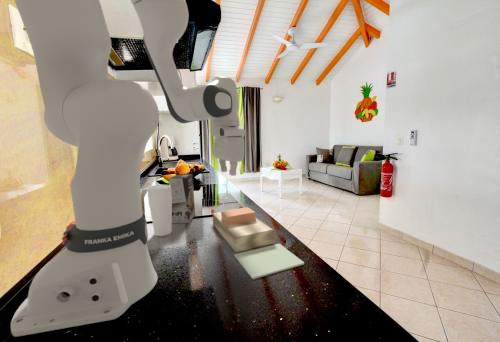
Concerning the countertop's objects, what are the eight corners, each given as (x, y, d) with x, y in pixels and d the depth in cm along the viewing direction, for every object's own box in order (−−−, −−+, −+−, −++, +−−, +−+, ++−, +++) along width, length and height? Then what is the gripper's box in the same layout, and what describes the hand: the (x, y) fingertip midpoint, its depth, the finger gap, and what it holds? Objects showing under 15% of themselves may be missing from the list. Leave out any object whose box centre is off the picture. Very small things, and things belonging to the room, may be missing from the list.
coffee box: (189, 223, 83) (186, 177, 80) (171, 223, 83) (167, 178, 80) (195, 214, 92) (193, 173, 89) (179, 215, 92) (176, 174, 89)
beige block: (235, 252, 60) (235, 237, 60) (213, 224, 80) (212, 213, 80) (273, 243, 65) (273, 229, 64) (243, 219, 85) (242, 208, 84)
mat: (252, 279, 49) (252, 277, 49) (234, 255, 59) (234, 254, 59) (304, 264, 54) (304, 262, 54) (279, 244, 64) (279, 243, 64)
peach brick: (227, 225, 68) (227, 217, 68) (221, 219, 74) (221, 211, 73) (255, 220, 72) (255, 212, 72) (247, 214, 77) (247, 207, 77)
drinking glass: (148, 233, 74) (144, 186, 72) (169, 227, 79) (166, 183, 77) (156, 240, 69) (151, 190, 67) (178, 233, 74) (174, 186, 71)
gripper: (208, 132, 84) (210, 170, 86) (226, 130, 66) (229, 178, 68) (225, 131, 87) (227, 169, 89) (247, 129, 68) (249, 176, 70)
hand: (228, 173), depth 78 cm, fingers open, 8 cm apart
